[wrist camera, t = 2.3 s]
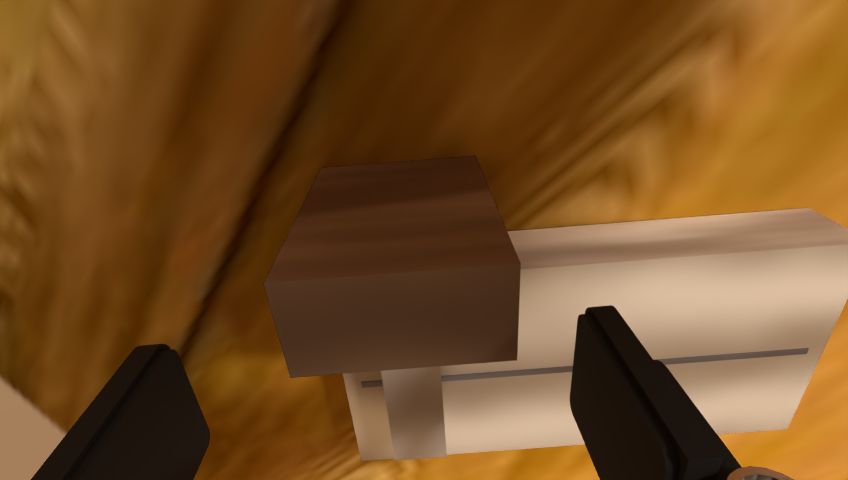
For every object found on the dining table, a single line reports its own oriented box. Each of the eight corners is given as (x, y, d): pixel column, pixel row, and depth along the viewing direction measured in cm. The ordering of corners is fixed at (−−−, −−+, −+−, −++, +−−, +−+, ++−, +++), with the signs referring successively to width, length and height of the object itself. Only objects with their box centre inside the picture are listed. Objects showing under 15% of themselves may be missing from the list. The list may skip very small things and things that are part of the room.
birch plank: (335, 244, 19) (323, 285, 16) (808, 208, 19) (874, 242, 16) (366, 409, 24) (361, 461, 21) (745, 380, 24) (787, 429, 21)
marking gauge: (320, 168, 18) (263, 283, 11) (475, 155, 18) (520, 263, 10) (357, 360, 22) (334, 528, 15) (478, 351, 22) (511, 515, 15)
